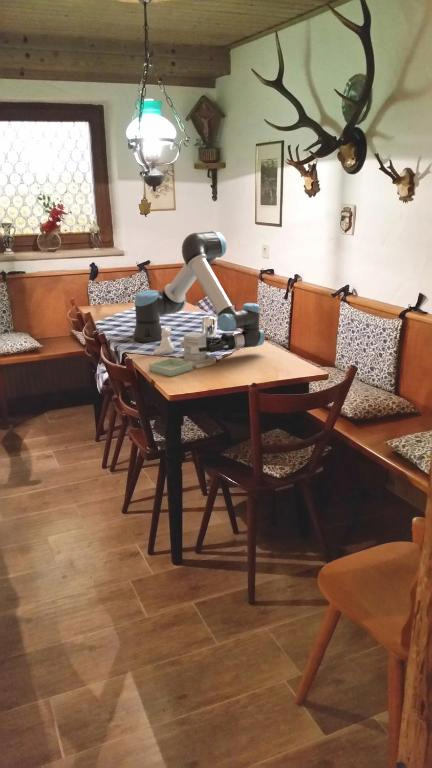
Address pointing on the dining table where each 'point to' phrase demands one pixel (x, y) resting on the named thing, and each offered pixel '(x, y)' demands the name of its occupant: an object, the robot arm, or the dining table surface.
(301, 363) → the dining table surface
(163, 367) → the green tray
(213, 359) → the beige square tray
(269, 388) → the dining table surface
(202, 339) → the supplement box
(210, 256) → the robot arm
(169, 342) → the white creature statuette
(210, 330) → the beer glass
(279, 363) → the dining table surface
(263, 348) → the dining table surface
